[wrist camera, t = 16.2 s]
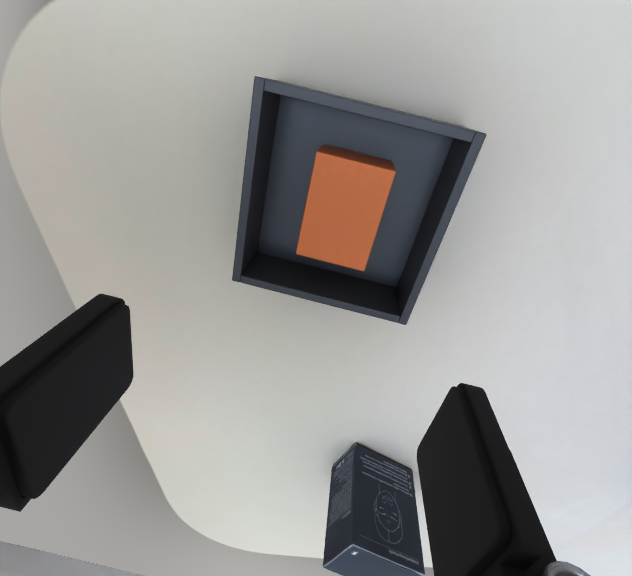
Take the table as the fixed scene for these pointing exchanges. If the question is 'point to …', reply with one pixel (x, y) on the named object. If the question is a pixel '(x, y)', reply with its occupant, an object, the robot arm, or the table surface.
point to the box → (372, 518)
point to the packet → (344, 206)
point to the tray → (293, 185)
